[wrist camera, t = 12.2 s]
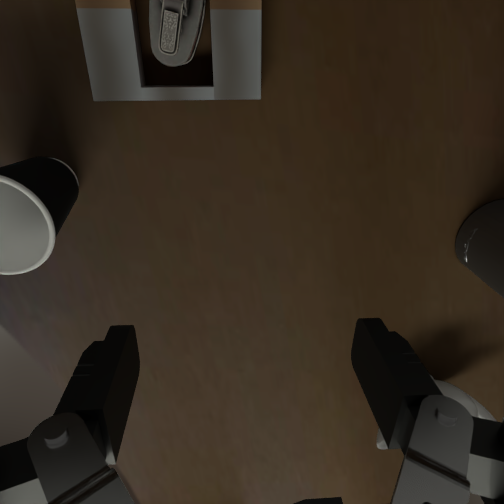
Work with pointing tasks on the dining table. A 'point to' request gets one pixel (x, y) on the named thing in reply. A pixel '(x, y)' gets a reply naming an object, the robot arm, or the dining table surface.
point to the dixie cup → (33, 210)
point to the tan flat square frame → (131, 63)
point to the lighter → (175, 29)
